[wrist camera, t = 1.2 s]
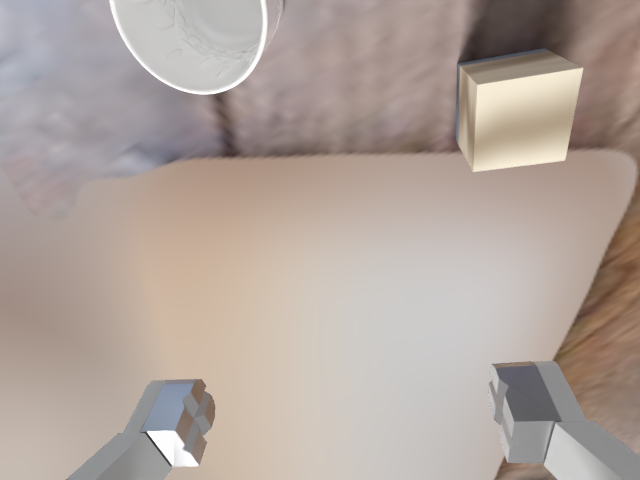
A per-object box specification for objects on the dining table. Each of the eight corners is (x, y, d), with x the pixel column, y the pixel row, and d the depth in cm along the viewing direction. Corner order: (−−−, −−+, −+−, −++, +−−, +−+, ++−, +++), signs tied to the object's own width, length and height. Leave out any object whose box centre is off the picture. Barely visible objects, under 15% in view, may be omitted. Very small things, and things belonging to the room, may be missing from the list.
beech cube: (457, 62, 29) (477, 84, 24) (543, 48, 28) (583, 67, 23) (455, 139, 32) (473, 172, 28) (532, 128, 31) (564, 160, 27)
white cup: (309, 33, 28) (292, 64, 20) (216, 71, 30) (166, 113, 22) (263, -101, 24) (218, -128, 16) (158, -46, 26) (72, -45, 18)
